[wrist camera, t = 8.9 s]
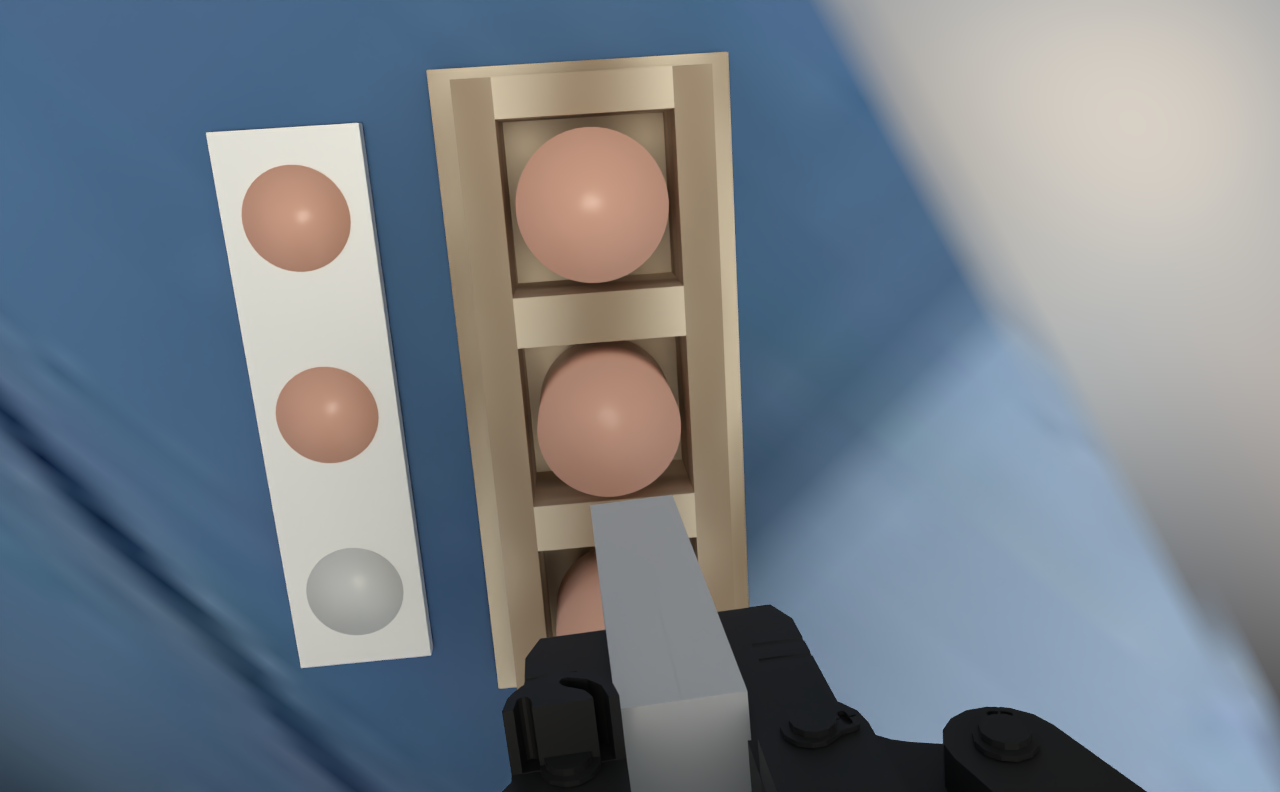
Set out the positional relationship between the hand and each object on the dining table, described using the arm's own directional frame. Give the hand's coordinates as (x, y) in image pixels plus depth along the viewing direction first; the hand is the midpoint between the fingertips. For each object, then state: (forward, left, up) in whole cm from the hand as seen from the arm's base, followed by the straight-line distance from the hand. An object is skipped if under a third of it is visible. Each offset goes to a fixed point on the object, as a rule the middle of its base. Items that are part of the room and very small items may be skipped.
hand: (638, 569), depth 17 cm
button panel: (0, -1, -18) cm, 18 cm away
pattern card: (-10, -1, -18) cm, 21 cm away
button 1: (0, +6, -17) cm, 17 cm away
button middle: (0, -1, -17) cm, 17 cm away
